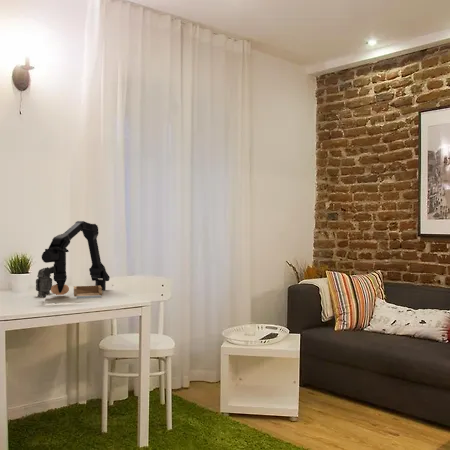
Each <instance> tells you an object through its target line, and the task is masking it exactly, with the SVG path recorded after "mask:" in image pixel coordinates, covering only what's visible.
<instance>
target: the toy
mask: <svg viewBox="0 0 450 450" xmlns="http://www.w3.org/2000/svg"><path fill="white" fill-rule="evenodd" d="M45 268H46V267H43V268H41V269H39V270H38V272H37V276H36V277H37V278H36V279H35V291H36V292H37V297H38V298H45V297H46V296H47V295H50V294H51V293H50V291H51V287H52V286H53V277H52V275H51V274H49V275H47V276H44V274H43V271H42V270H44V269H45Z"/></svg>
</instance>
